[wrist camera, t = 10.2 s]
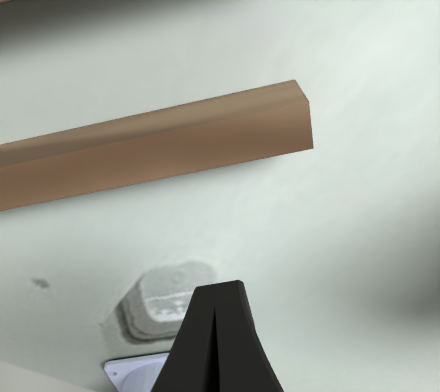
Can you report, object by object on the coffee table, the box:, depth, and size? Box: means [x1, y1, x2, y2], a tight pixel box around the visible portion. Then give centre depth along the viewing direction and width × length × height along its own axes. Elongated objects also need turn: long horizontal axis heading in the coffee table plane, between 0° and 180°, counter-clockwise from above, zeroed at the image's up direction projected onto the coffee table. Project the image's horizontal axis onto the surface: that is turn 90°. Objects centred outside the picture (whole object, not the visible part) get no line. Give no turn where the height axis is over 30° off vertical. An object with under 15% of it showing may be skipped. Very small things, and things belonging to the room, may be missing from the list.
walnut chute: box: [0, 0, 313, 211], centre depth 15 cm, size 10×22×3 cm, turn 103°
